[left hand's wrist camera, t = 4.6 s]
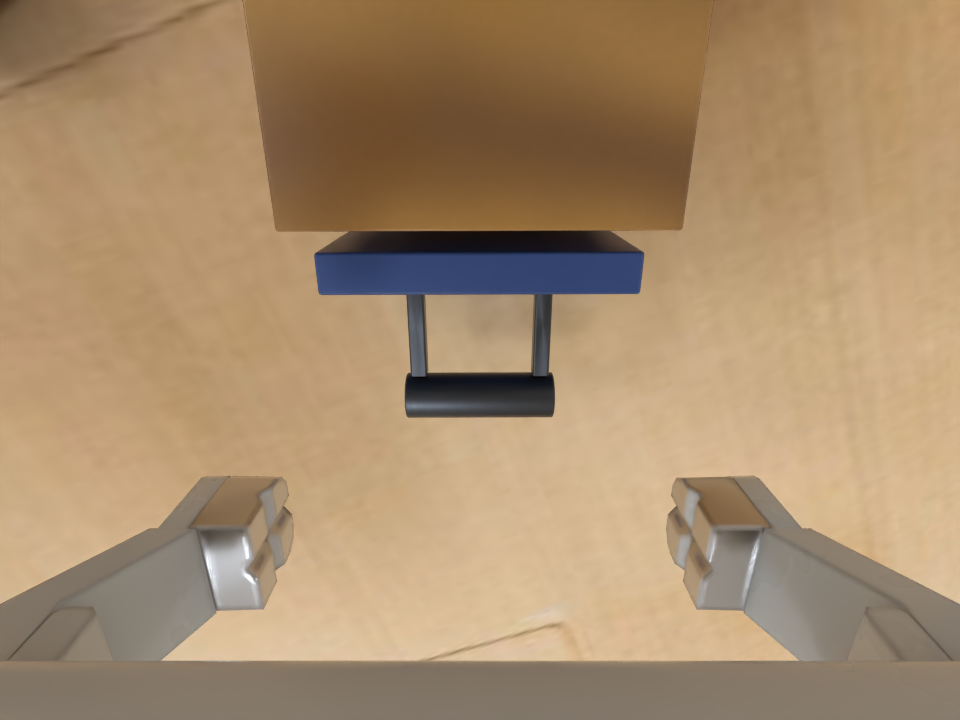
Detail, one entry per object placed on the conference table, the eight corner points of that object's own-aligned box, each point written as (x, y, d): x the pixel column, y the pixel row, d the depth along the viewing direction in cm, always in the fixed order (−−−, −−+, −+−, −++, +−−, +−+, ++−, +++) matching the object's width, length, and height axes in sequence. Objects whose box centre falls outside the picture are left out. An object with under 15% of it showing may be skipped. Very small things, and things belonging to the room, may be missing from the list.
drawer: (576, 366, 25) (621, 468, 17) (383, 367, 25) (338, 469, 17) (613, -168, 18) (721, -422, 10) (342, -167, 18) (232, -420, 10)
